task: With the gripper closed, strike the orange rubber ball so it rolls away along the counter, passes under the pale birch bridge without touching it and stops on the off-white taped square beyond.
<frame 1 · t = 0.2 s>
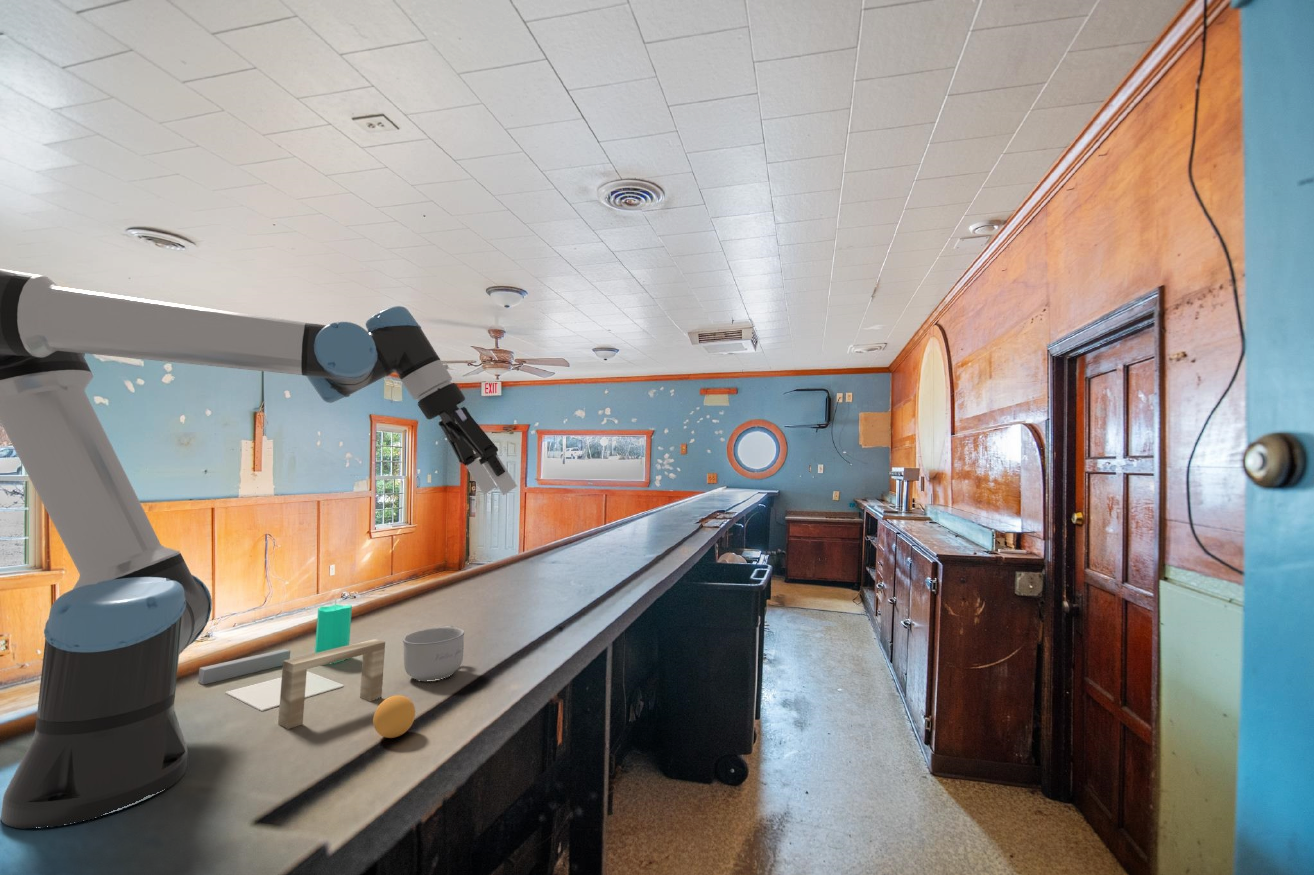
hand: (499, 490, 102), 35 cm above the bar counter, tool tilted 35°, fingers open, 13 cm apart
bridge: (333, 710, 87), on the bar counter
teacup: (436, 675, 105), on the bar counter
candle: (331, 660, 111), on the bar counter
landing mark: (286, 689, 95), on the bar counter
ball: (394, 716, 79), on the bar counter
stopper: (246, 672, 103), on the bar counter
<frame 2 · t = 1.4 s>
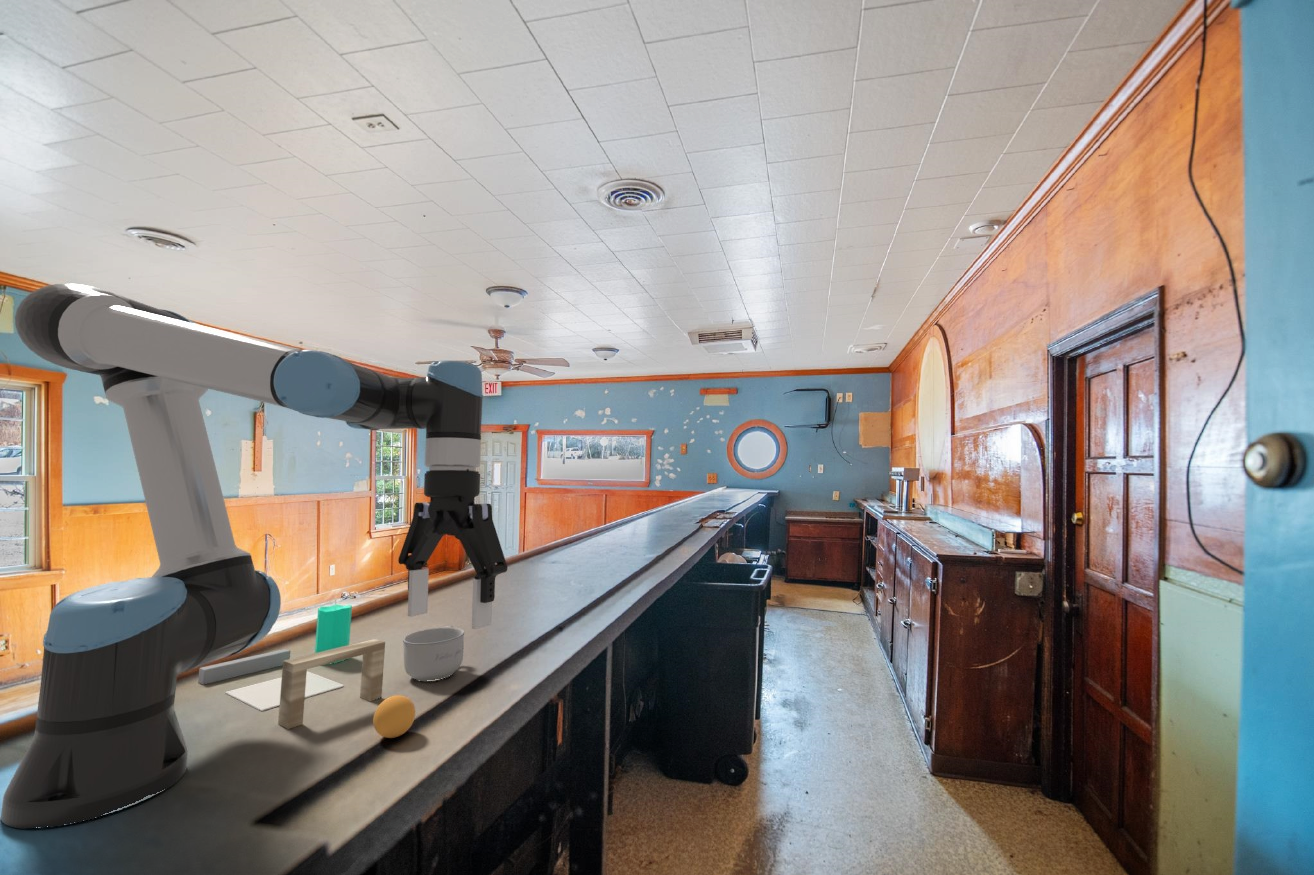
hand: (448, 620, 77), 17 cm above the bar counter, tool pointing down, fingers open, 13 cm apart
nothing on the bar counter moved.
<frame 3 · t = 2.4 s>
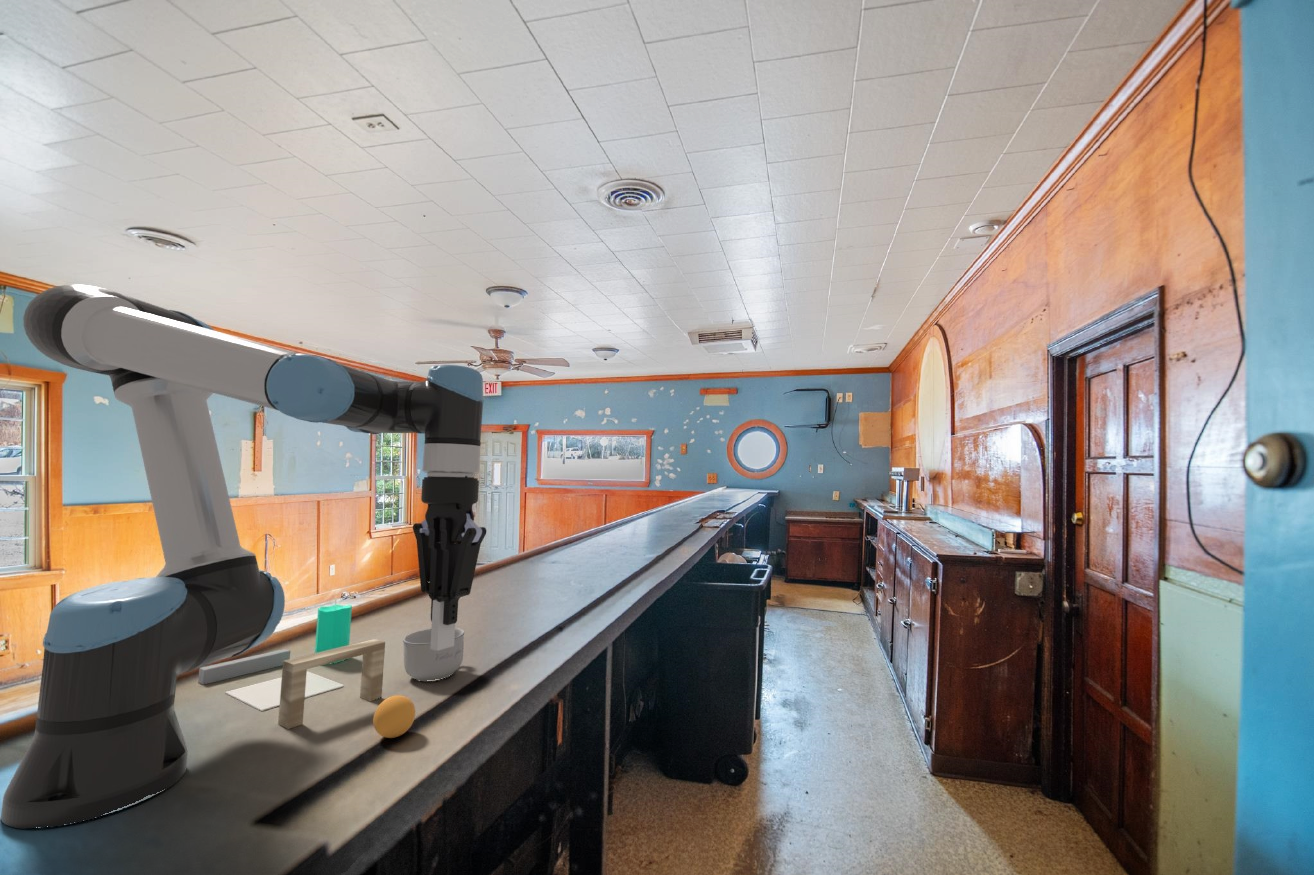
hand: (442, 647, 75), 14 cm above the bar counter, tool pointing down, fingers closed
nothing on the bar counter moved.
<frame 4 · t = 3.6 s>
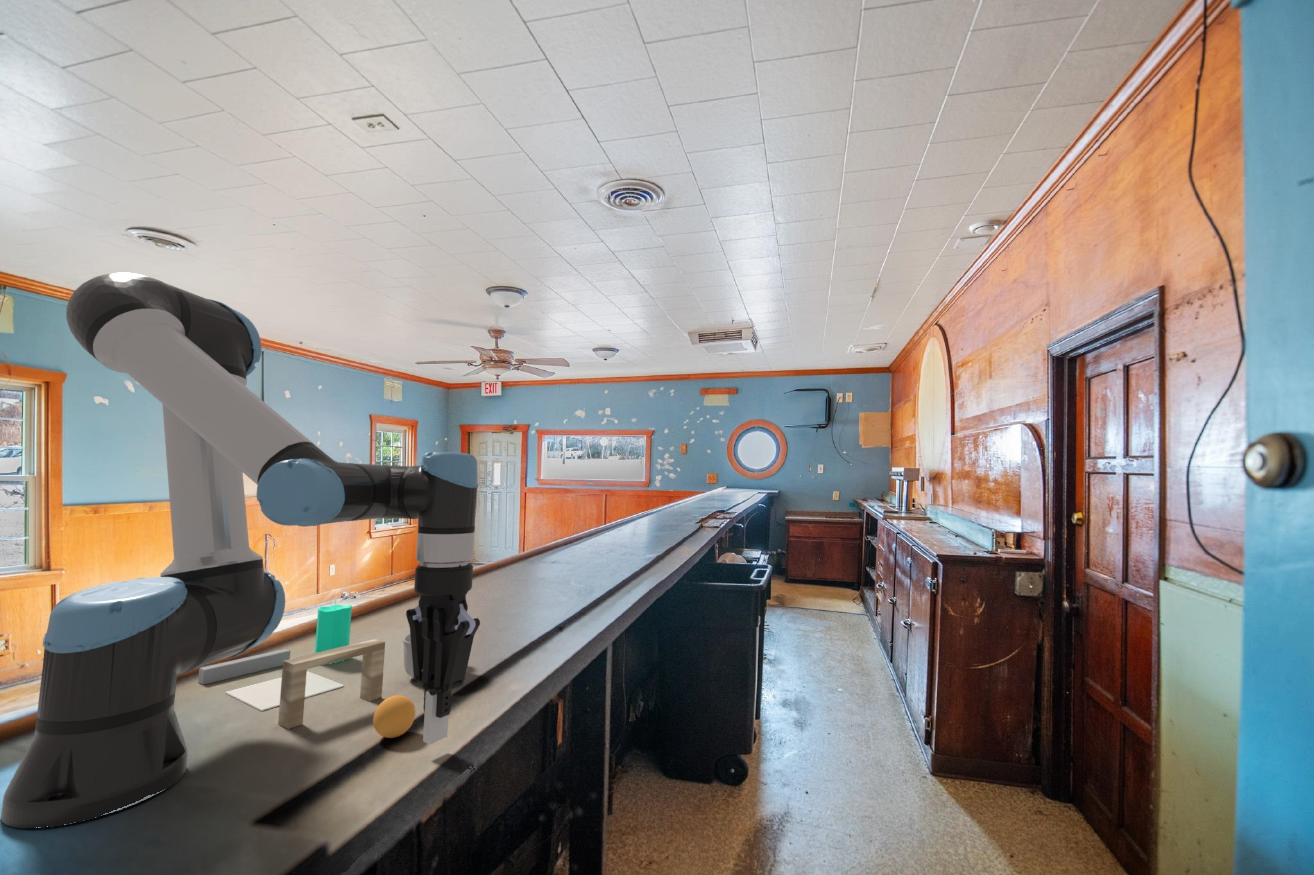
hand: (435, 739, 74), 2 cm above the bar counter, tool pointing down, fingers closed
nothing on the bar counter moved.
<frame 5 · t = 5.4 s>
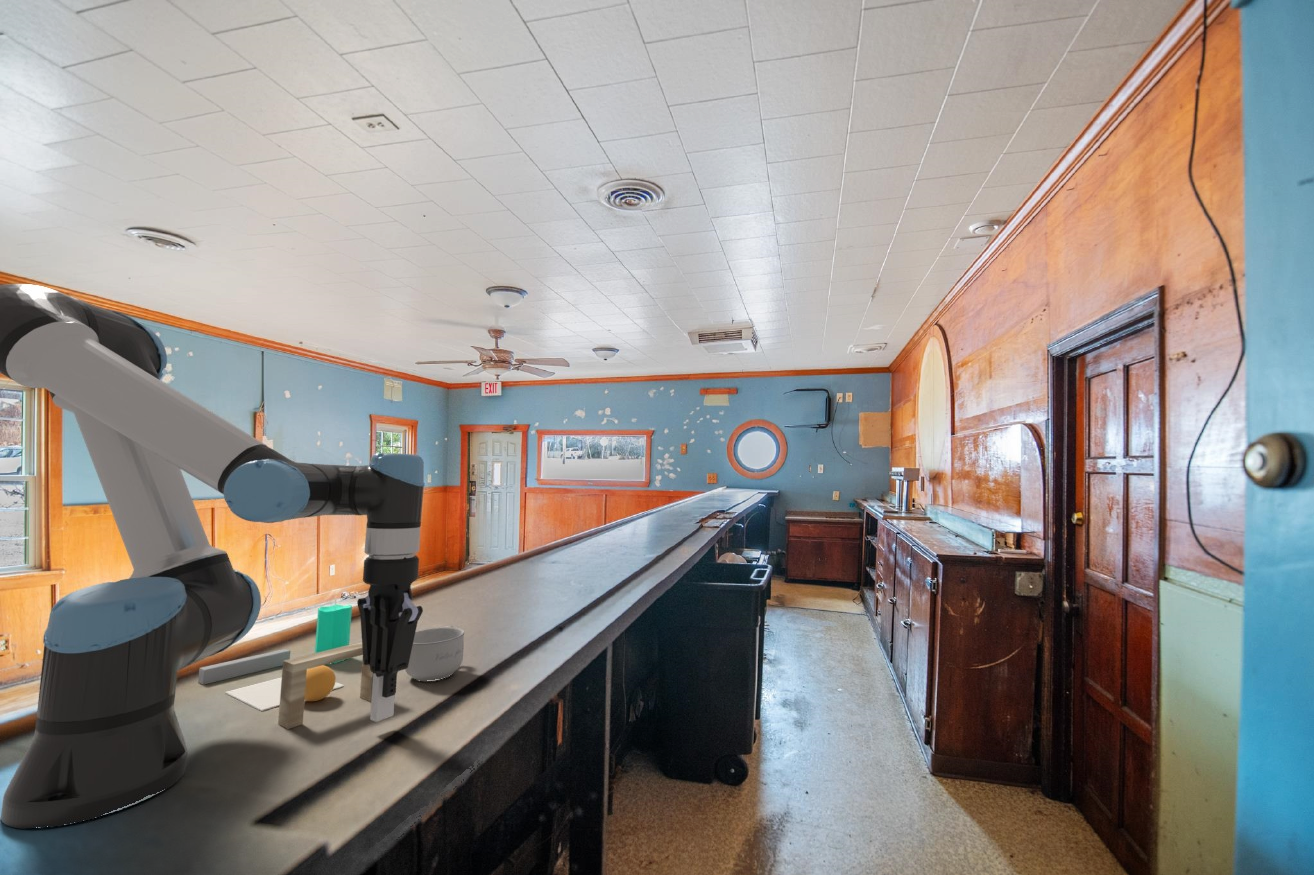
hand: (381, 717, 81), 2 cm above the bar counter, tool pointing down, fingers closed
ball: (316, 683, 91), on the bar counter
everything else where it was.
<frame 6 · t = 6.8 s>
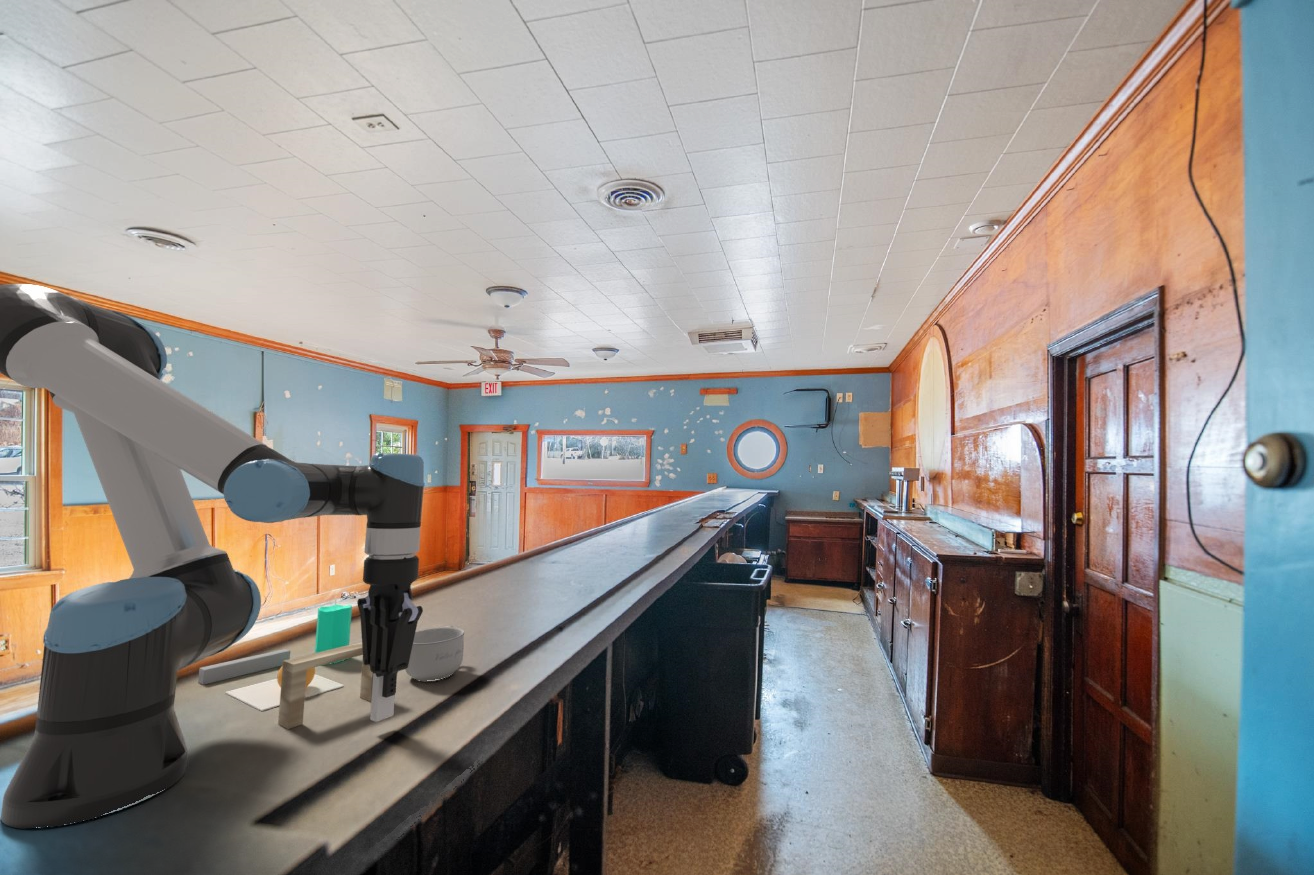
hand: (381, 717, 81), 2 cm above the bar counter, tool pointing down, fingers closed
ball: (296, 674, 95), on the bar counter
everything else where it was.
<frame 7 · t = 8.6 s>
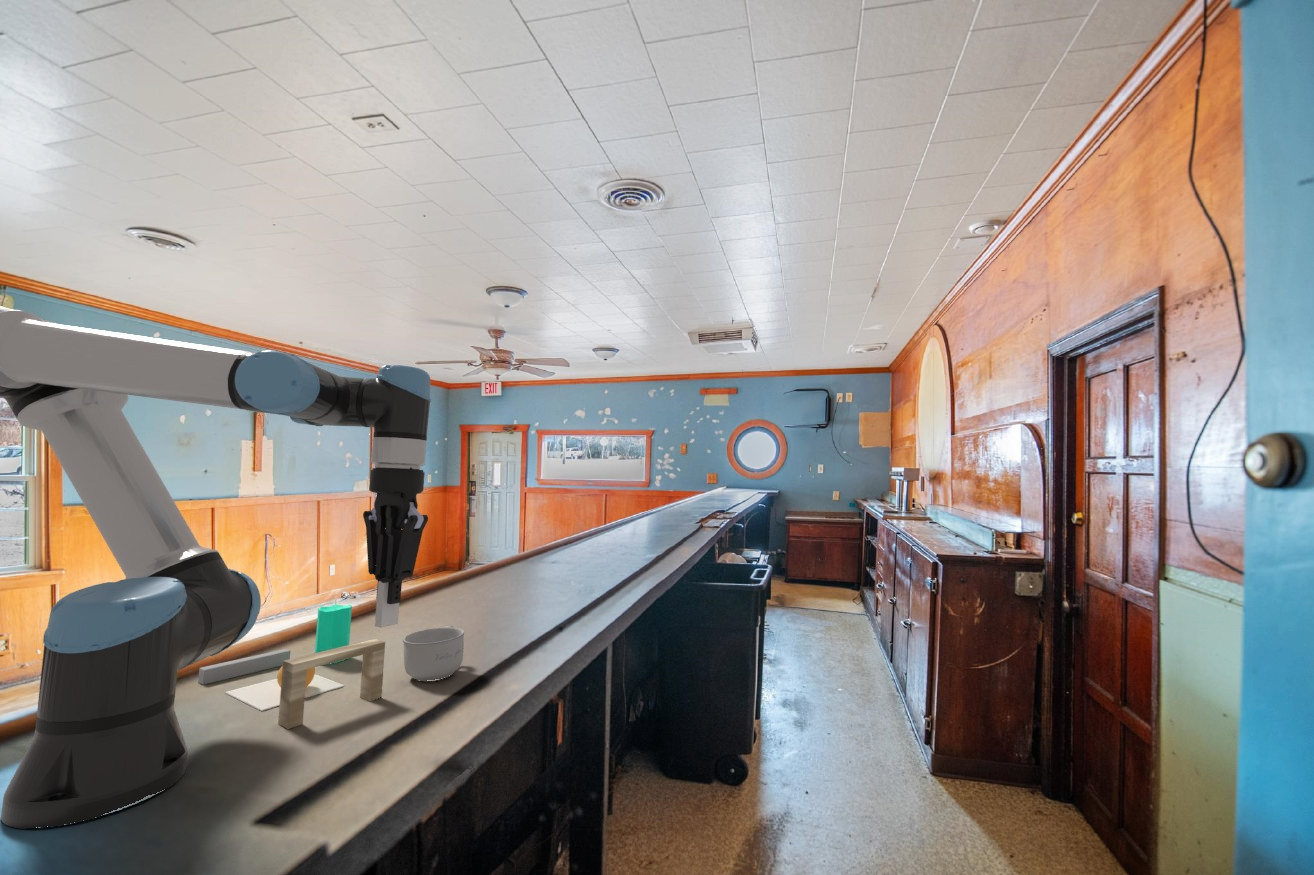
hand: (386, 624, 82), 15 cm above the bar counter, tool pointing down, fingers closed
nothing on the bar counter moved.
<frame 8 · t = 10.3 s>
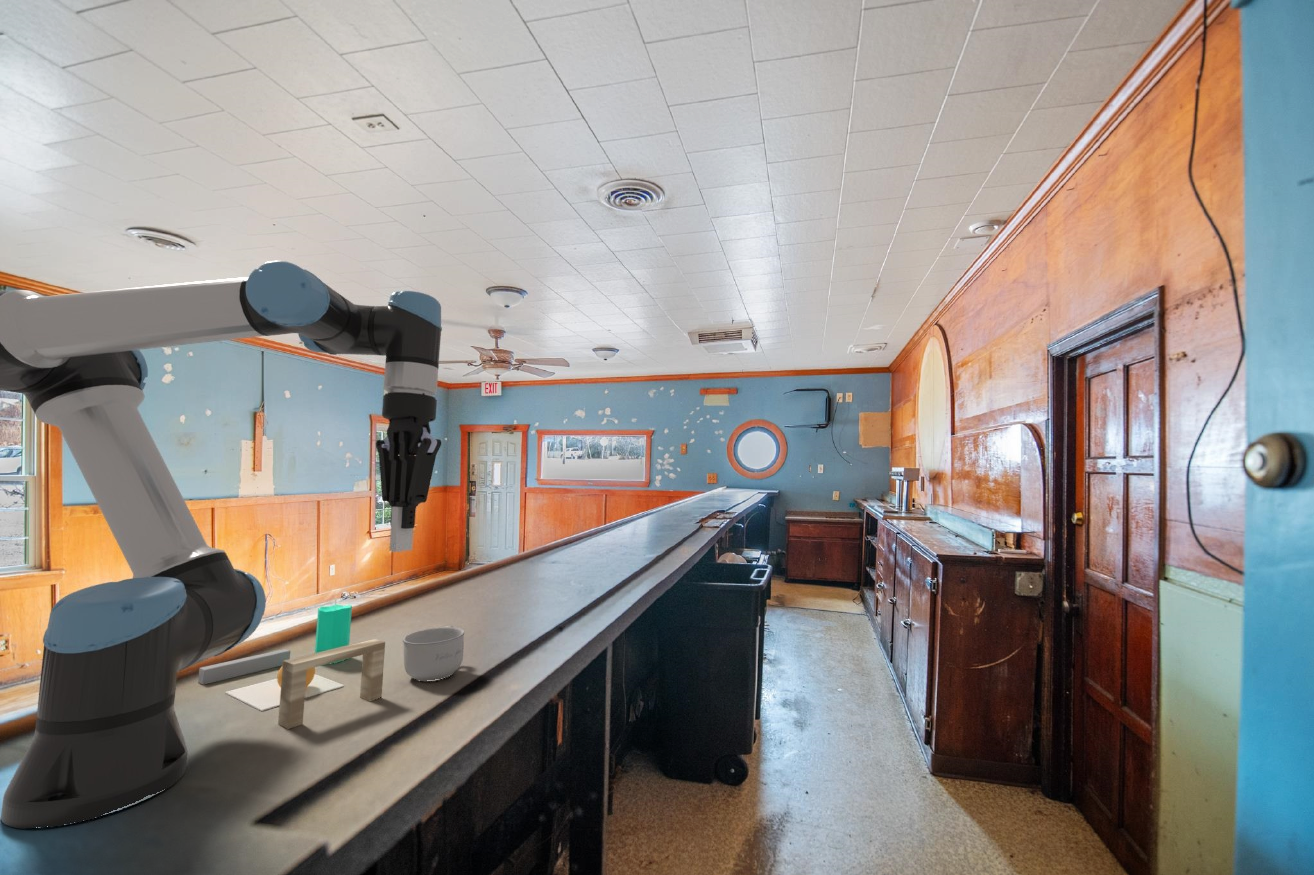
hand: (400, 550, 82), 26 cm above the bar counter, tool pointing down, fingers closed
nothing on the bar counter moved.
at the end: ball 1.9 cm from the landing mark (horizontally); ball never touched bridge; ball at rest at the end (0.0 cm/s) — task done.
